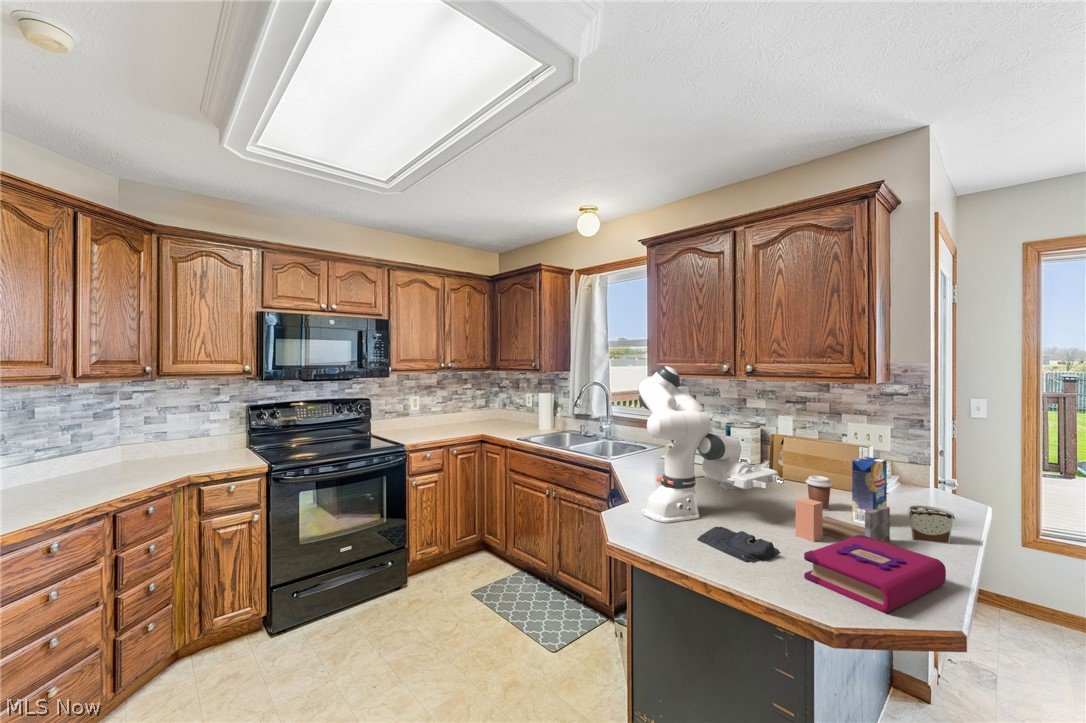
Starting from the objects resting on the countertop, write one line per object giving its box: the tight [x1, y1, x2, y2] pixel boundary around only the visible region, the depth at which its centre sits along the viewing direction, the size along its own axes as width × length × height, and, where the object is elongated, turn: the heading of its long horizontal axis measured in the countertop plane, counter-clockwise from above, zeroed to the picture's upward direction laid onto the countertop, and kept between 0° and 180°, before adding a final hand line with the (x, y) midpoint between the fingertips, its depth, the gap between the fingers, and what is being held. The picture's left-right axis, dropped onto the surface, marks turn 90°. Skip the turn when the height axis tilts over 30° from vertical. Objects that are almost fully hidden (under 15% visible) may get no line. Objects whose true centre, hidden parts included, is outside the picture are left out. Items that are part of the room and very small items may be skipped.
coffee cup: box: [805, 475, 834, 512], centre depth 181 cm, size 9×9×12 cm
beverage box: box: [851, 456, 888, 525], centre depth 168 cm, size 7×11×22 cm, turn 124°
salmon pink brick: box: [795, 497, 824, 543], centre depth 153 cm, size 5×6×12 cm
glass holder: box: [718, 459, 750, 490], centre depth 209 cm, size 9×14×15 cm, turn 32°
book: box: [803, 535, 947, 614], centre depth 123 cm, size 21×28×8 cm
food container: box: [906, 505, 956, 545], centre depth 151 cm, size 12×6×10 cm, turn 71°
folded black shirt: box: [697, 526, 780, 564], centre depth 146 cm, size 15×22×5 cm
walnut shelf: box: [823, 506, 891, 543], centre depth 155 cm, size 12×20×11 cm, turn 29°
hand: (775, 483), depth 164 cm, fingers open, 8 cm apart
